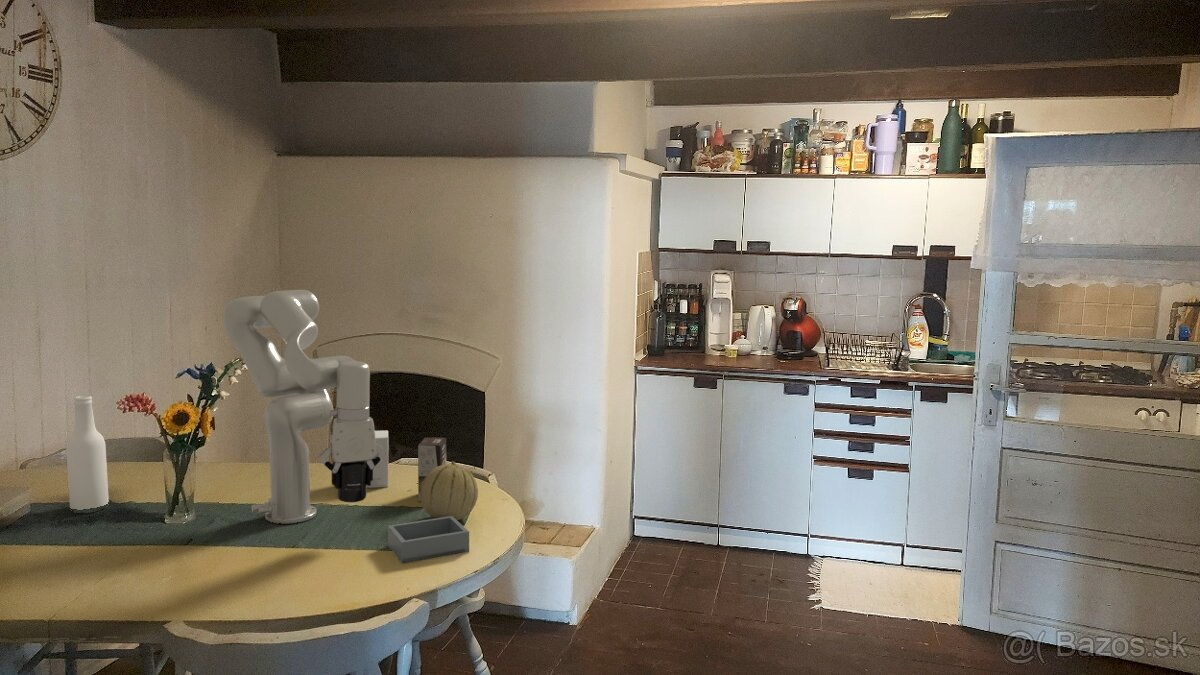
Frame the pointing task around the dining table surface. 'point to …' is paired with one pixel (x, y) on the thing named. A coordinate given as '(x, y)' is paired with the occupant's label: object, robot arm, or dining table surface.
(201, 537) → the dining table surface
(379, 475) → the supplement box
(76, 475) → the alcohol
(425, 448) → the coffee box
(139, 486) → the dining table surface
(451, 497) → the cantaloupe
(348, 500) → the supplement bottle
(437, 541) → the tote
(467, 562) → the dining table surface
